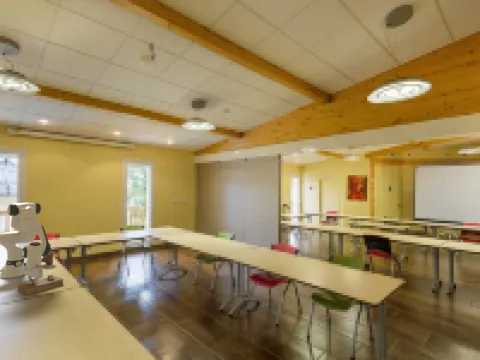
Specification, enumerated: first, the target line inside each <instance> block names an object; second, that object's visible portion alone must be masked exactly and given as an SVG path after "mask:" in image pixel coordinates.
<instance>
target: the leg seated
mask: <svg viewBox="0 0 480 360" xmlns="http://www.w3.org/2000/svg"><path fill="white" fill-rule="evenodd" d="M53 276H54V274H48V275H47V277H48V279H47V281H50V280H53Z"/></svg>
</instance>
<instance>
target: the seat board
mask: <svg viewBox="0 0 480 360" xmlns="http://www.w3.org/2000/svg"><path fill="white" fill-rule="evenodd" d="M47 279H48V276H47V277H42V278H39V279H38V280H37V283H36V285H32V286H30V285H29V284H30V282H29V281H28V282H25V283H21V284H18V287H17V288H18V289H17V291H18V292H19V293H22V294H25V295H27V296H29V295H33V294H35V293H38V292H42V291H45V290H49V289H51V288H54V287H55V286H56V287H58V286H61V285H64V278H62V277H59V276H56V275H53V280H50V281H47Z"/></svg>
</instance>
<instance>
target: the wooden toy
mask: <svg viewBox="0 0 480 360" xmlns="http://www.w3.org/2000/svg"><path fill="white" fill-rule="evenodd" d="M49 244H50V243H49ZM50 246H51V247H52V244H50ZM41 263H45V264H46V265H49V266H52V265H54V251H51V252H50V253H49V254H48V255H47V256H42V257H41Z"/></svg>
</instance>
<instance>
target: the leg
mask: <svg viewBox="0 0 480 360" xmlns="http://www.w3.org/2000/svg"><path fill="white" fill-rule="evenodd" d="M34 280H35V279H34V278H32V279H31V280H30V284H29V285H30V286H32V285H36V283H34Z"/></svg>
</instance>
